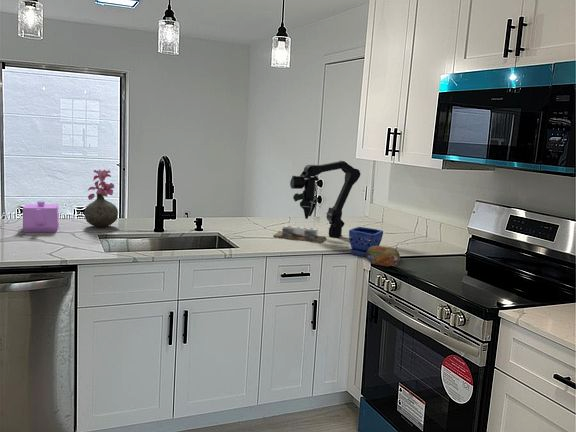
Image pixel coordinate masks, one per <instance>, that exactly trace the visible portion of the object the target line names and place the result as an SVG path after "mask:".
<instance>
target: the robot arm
mask: <svg viewBox="0 0 576 432" xmlns="http://www.w3.org/2000/svg"><path fill="white" fill-rule="evenodd" d="M336 170H341V171H342V172H343V173H344V183H343V185H342V187H341V190H340V192H339V195H338V197H337V198H336V201H335V203H334V205H333V206H332V207H328V210H327V212H326V213H325V214H326V216H325V217H326V220H327V221H328V224H329V225H330V227H328V237H329V236H331V237H330V238H337V237H341V236H342V237H343V227H344V226H345V222H344V221H343V220H342V217H343V208H344V206H345V204H346V201H347V199H348V197H349V195H350V193H351V190H352V188H353V186H354V185H355V184H356V183H357V182H358V180H359V178H360V177H361V170H359V169H357V168H355V167H353V166H352V165H350V164H349V163H347V162H346V161H344V160H339V161H334V162H329V163H323V164H307V165H305V167H304V168H303V170H302V172H301V173H300V174H299V175H292V176H291V179H290V181H289V186H290V188H291V189H296V190H299V189H301V190H302V189H303V188H304V190H302V193H299V192H297V193H294V194H293V197H292V198H293V200H294V202H295V203H296V202H298V201H299V206H300V207H301V208H302V210H303V213H304V214H303V215H304V217H305V220H308V218H309V217H312V215H313V212H314V210H315V209H316V206H317V204H318V198H317V197H316V196H315V195H316V192H317V191H316V181H320V179H319V178H318V176H319V175H320V174H323V173H325V172H331V171H336ZM300 200H301V201H300ZM342 237H341V238H342Z"/></svg>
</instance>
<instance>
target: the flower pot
mask: <svg viewBox="0 0 576 432" xmlns="http://www.w3.org/2000/svg"><path fill="white" fill-rule="evenodd" d="M383 235H384V230H381V229H376V228H370V227H363V226H357V227H353V228H351V229H349V230H348V241H349V245H350V248H349V253H351V254H353V255H355V256H356V255H357V256H362V257H366V252H367V250H368V249H369V248H370V247H371V246H381V241H382V238H383Z"/></svg>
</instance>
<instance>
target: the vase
mask: <svg viewBox="0 0 576 432" xmlns="http://www.w3.org/2000/svg"><path fill="white" fill-rule="evenodd" d="M93 173H94V174H95V173H96V174H97V175H93V178H92V179H93V182H94V181H95V180H97V179H98V180H97V181H95V182H94V186H89V188H88V189H87V192H88V191H90V190H91V191H95V190H96V193H90V194H89V195H88V197H87V199H88V200H89V201H90V200H93V201H92V202H90V203H89V204H87V206H85V209H84V219H85V221H86V222H87V223H89V225H91V226H93V227H94V228H95V227H96V229H106V227H107V228H108V227H109V226H111V225H113V224H114V223H115V222H116V221H117V219H118V216H119V211H118V208H117V206H116V205H115V203H114V204H113V203H112V202H111V201H108V200H106V199H105V197H108V195H110V196H113V194H114V190H113V189H115V184H114V183H112V182H111V183H109V184H108V183H107V182H106V181H105V180H106V178H107V177H109V178H112V176H111V174H109V173H111V170H110V169H109V170H106V169H103V170H101V169H98V170H96V169H93ZM100 186H101V187H100ZM95 194H96V195H95ZM95 197H96V199H95V200H94V198H95Z"/></svg>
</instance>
